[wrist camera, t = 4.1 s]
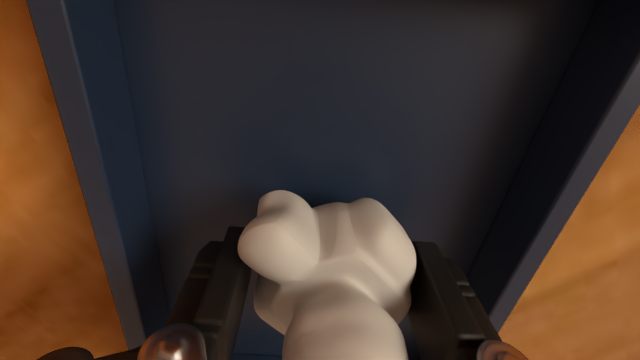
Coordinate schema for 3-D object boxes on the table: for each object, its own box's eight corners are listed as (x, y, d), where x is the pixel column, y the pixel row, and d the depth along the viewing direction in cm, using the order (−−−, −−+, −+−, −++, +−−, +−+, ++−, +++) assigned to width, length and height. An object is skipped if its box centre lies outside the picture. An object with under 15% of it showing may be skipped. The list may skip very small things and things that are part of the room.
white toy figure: (324, 300, 14) (336, 588, 7) (212, 209, 12) (63, 516, 5) (428, 240, 13) (575, 534, 6) (325, 118, 10) (359, 380, 3)
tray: (68, -123, 7) (-28, -174, 5) (632, -34, 9) (736, -47, 6) (164, 351, 16) (142, 402, 14) (432, 363, 18) (449, 413, 15)
